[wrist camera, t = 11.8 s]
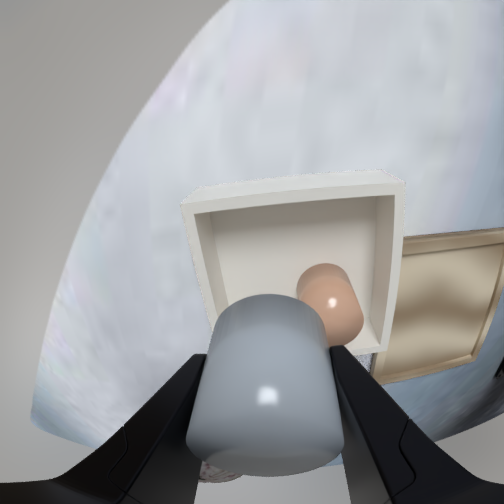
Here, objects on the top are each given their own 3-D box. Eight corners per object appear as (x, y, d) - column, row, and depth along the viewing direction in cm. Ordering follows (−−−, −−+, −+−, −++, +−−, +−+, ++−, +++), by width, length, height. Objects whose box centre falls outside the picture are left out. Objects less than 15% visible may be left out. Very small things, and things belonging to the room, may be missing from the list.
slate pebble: (324, 371, 10) (337, 471, 6) (225, 377, 10) (208, 474, 6) (326, 288, 8) (353, 405, 5) (201, 298, 9) (162, 410, 5)
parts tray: (471, 354, 22) (475, 360, 21) (368, 378, 24) (370, 386, 23) (509, 226, 16) (516, 231, 16) (386, 238, 18) (391, 244, 17)
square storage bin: (374, 318, 21) (387, 350, 17) (229, 332, 22) (222, 366, 19) (381, 169, 16) (405, 182, 13) (197, 187, 17) (179, 204, 14)
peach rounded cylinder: (348, 306, 20) (361, 344, 16) (297, 311, 20) (301, 351, 16) (350, 260, 18) (366, 295, 15) (294, 265, 19) (299, 302, 15)
